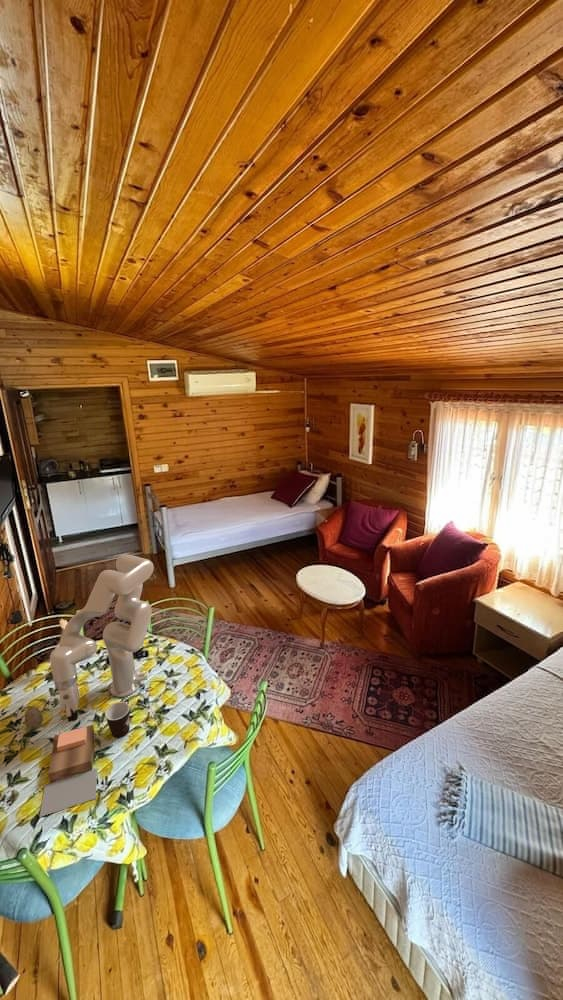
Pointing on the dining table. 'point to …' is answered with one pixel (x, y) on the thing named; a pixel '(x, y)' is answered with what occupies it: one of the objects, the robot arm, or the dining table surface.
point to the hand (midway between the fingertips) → (73, 719)
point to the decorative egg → (33, 718)
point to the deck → (72, 758)
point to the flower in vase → (63, 625)
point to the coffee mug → (118, 718)
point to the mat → (69, 792)
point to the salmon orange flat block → (72, 738)
